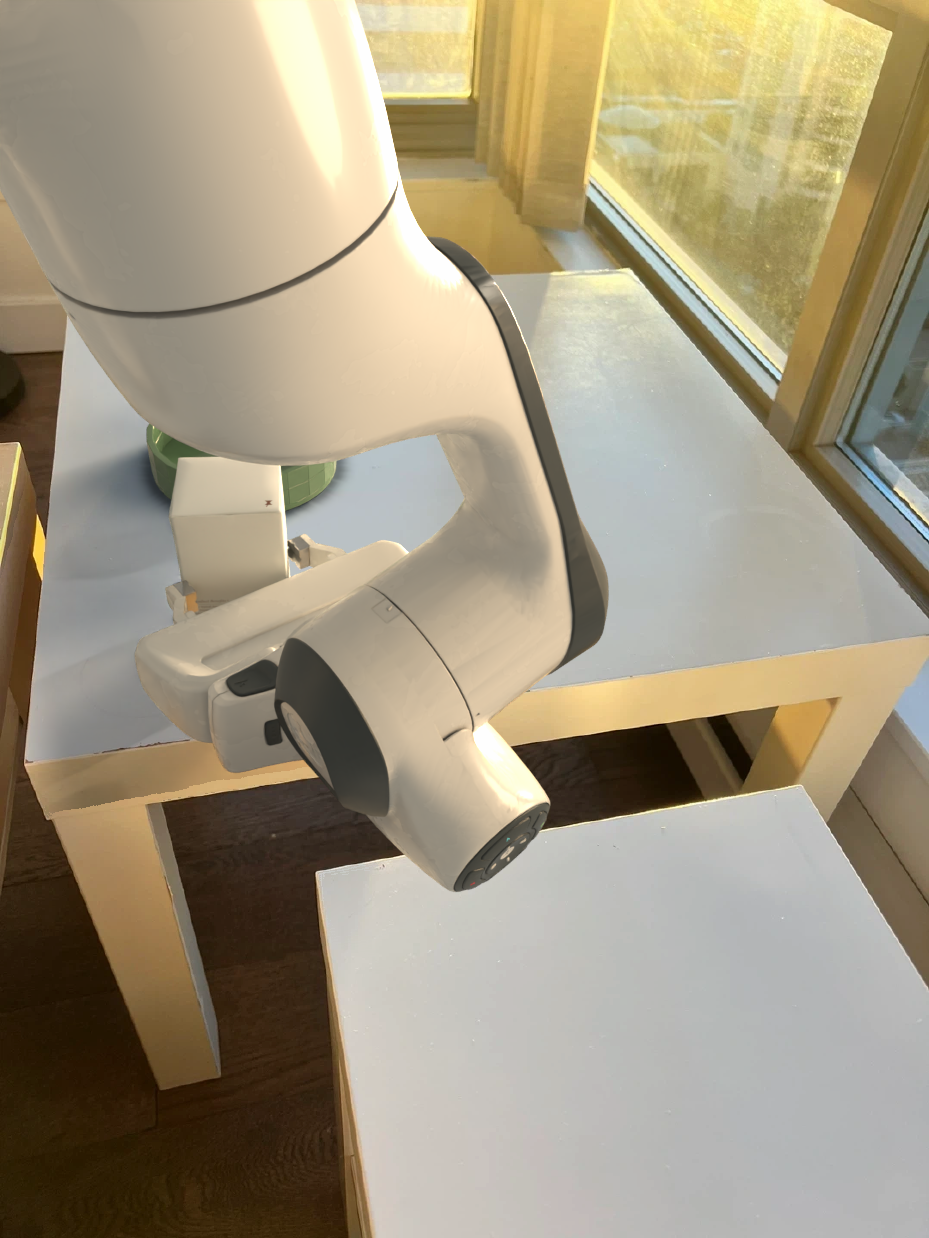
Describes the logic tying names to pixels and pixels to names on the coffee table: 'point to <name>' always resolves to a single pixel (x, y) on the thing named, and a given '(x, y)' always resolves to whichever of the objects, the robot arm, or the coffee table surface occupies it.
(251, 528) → the white packaging box
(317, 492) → the bowl
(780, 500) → the coffee table surface
